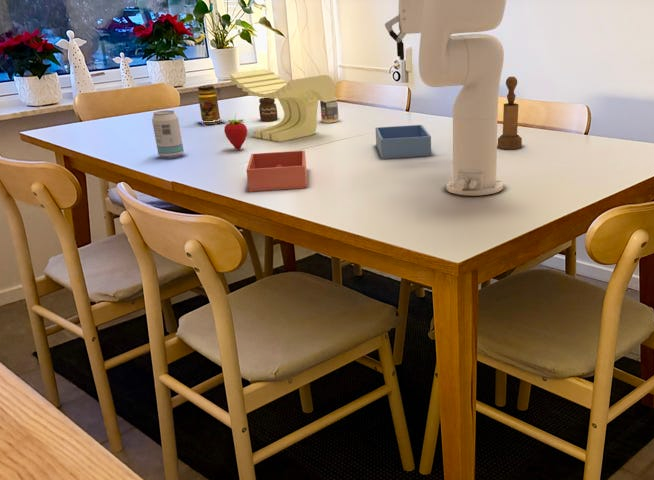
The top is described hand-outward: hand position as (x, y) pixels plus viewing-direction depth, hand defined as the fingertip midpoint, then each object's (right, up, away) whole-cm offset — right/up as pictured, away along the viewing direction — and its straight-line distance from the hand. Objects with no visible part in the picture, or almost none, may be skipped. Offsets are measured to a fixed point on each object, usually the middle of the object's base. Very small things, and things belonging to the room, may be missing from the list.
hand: (421, 58), depth 184 cm
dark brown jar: (-50, +7, +70) cm, 86 cm away
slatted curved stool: (-40, -6, +45) cm, 61 cm away
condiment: (-70, +6, +69) cm, 99 cm away
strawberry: (-52, -15, +28) cm, 61 cm away
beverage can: (-69, -18, +23) cm, 75 cm away
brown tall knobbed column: (+25, -17, +17) cm, 35 cm away
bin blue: (-4, -18, +18) cm, 26 cm away
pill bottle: (-29, +4, +63) cm, 69 cm away
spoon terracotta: (-34, -32, -6) cm, 47 cm away
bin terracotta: (-34, -32, -6) cm, 47 cm away
